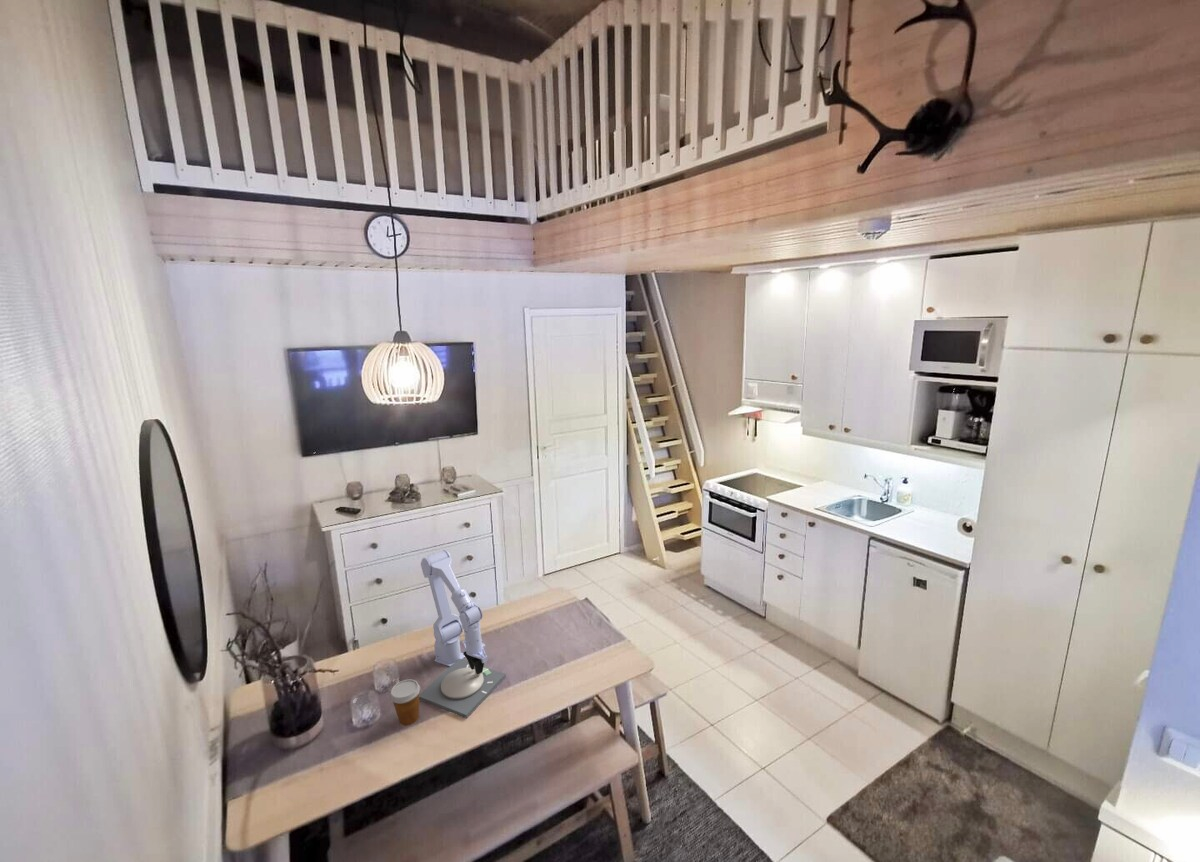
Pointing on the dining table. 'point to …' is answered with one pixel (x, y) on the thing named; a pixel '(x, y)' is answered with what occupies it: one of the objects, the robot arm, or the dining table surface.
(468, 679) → the beige oval dome
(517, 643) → the dining table surface
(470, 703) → the tuner board
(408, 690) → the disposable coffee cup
